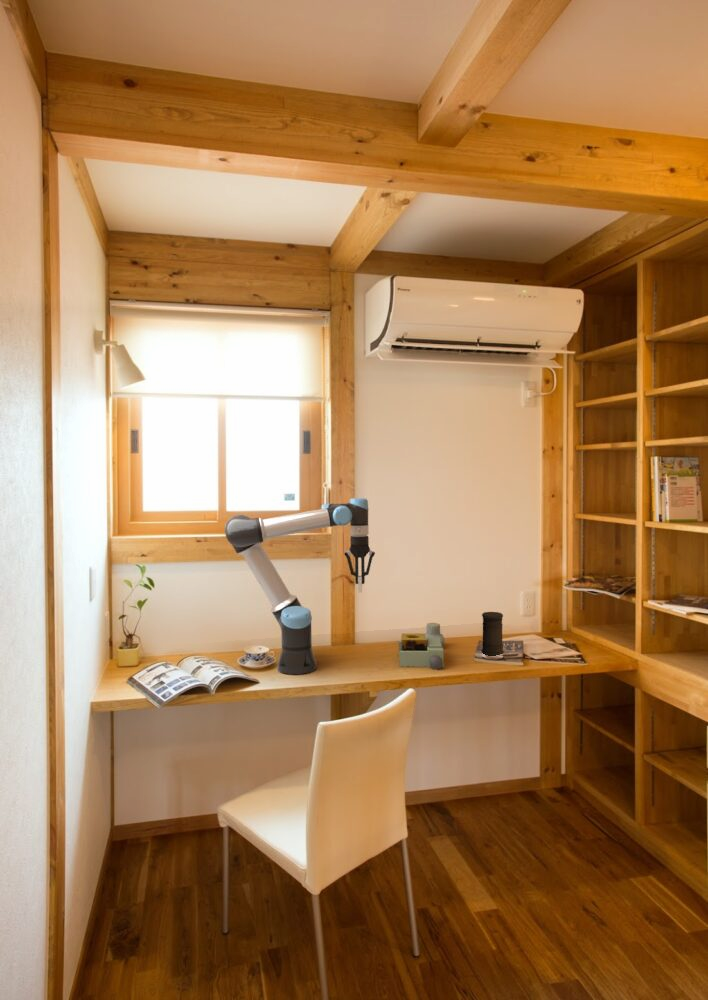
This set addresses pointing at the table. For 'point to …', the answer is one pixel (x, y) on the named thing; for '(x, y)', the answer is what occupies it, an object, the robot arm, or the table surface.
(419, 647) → the olive cube with hole
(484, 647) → the container
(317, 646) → the table surface
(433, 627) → the air freshener
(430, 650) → the green toy truck
